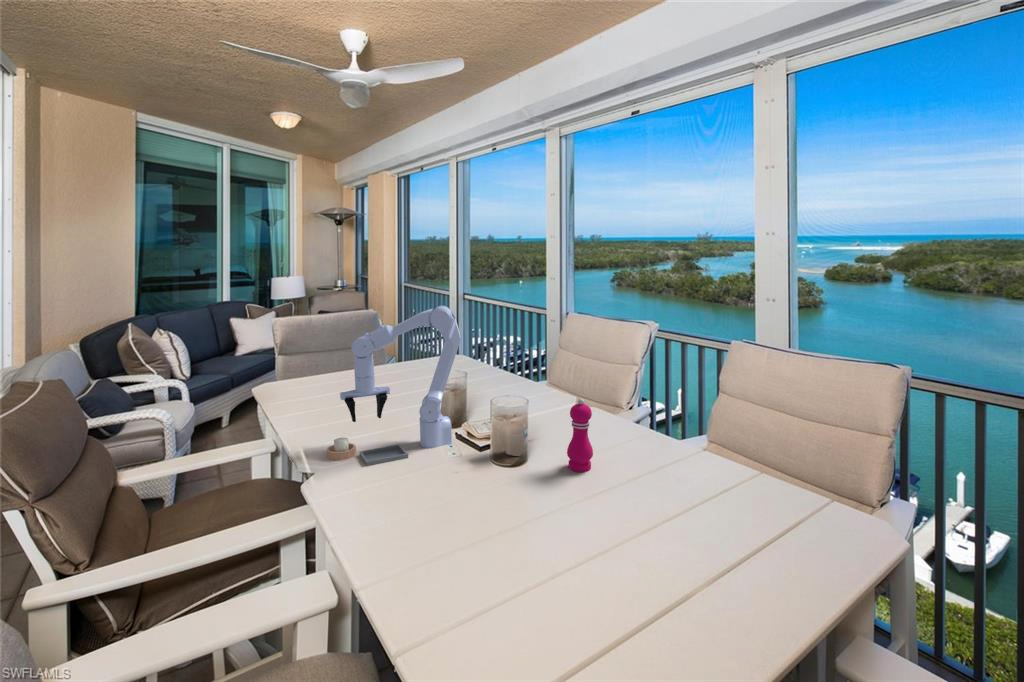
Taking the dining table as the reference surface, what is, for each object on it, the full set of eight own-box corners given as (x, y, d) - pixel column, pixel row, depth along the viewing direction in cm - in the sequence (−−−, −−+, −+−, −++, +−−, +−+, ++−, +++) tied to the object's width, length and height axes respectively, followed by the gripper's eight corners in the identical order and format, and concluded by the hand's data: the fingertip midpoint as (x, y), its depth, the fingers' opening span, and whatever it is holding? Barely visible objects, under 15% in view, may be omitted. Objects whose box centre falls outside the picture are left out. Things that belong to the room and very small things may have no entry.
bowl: (352, 450, 150) (352, 441, 149) (358, 459, 143) (357, 449, 142) (325, 455, 146) (325, 445, 145) (330, 464, 139) (329, 454, 138)
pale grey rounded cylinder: (347, 452, 147) (346, 436, 146) (350, 456, 143) (349, 440, 143) (333, 454, 145) (332, 439, 144) (336, 459, 141) (335, 443, 141)
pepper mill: (595, 464, 139) (597, 396, 136) (588, 474, 132) (590, 403, 129) (571, 460, 142) (572, 394, 139) (563, 470, 135) (564, 400, 132)
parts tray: (399, 450, 150) (399, 444, 149) (408, 460, 142) (408, 453, 142) (359, 457, 144) (359, 451, 144) (366, 468, 136) (366, 462, 136)
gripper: (384, 371, 155) (386, 412, 157) (337, 376, 148) (339, 419, 150) (391, 375, 149) (392, 418, 151) (341, 381, 142) (344, 425, 144)
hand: (366, 419), depth 150 cm, fingers open, 7 cm apart
